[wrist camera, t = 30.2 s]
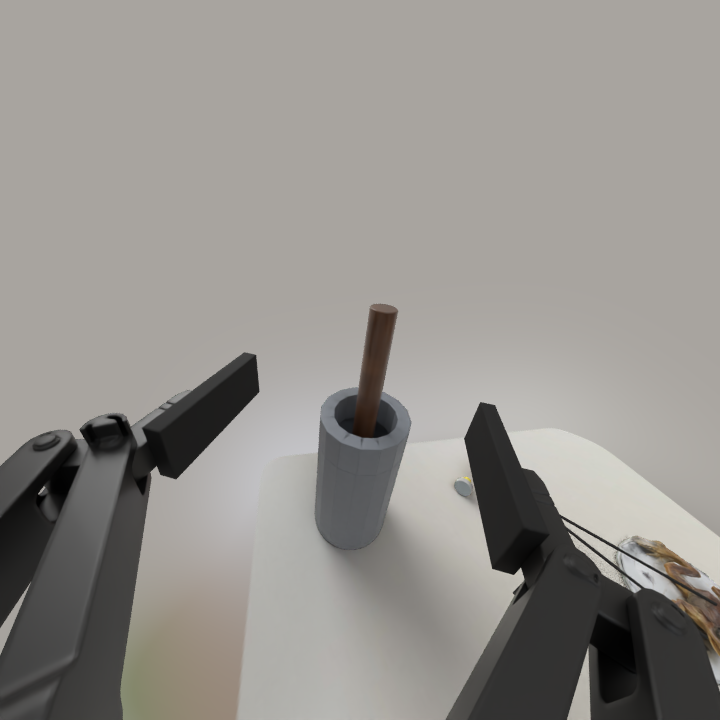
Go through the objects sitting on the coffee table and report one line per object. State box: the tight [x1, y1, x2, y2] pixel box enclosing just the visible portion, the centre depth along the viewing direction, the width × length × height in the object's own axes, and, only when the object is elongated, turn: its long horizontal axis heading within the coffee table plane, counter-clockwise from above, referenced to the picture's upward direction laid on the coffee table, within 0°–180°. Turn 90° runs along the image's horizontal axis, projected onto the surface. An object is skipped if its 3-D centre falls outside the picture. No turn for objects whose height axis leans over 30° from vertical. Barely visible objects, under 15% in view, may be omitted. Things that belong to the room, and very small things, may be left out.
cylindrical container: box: [315, 387, 411, 550], centre depth 26 cm, size 8×8×15 cm
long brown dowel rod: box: [352, 304, 398, 438], centre depth 24 cm, size 3×3×24 cm
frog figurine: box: [616, 536, 720, 684], centre depth 25 cm, size 12×12×4 cm
